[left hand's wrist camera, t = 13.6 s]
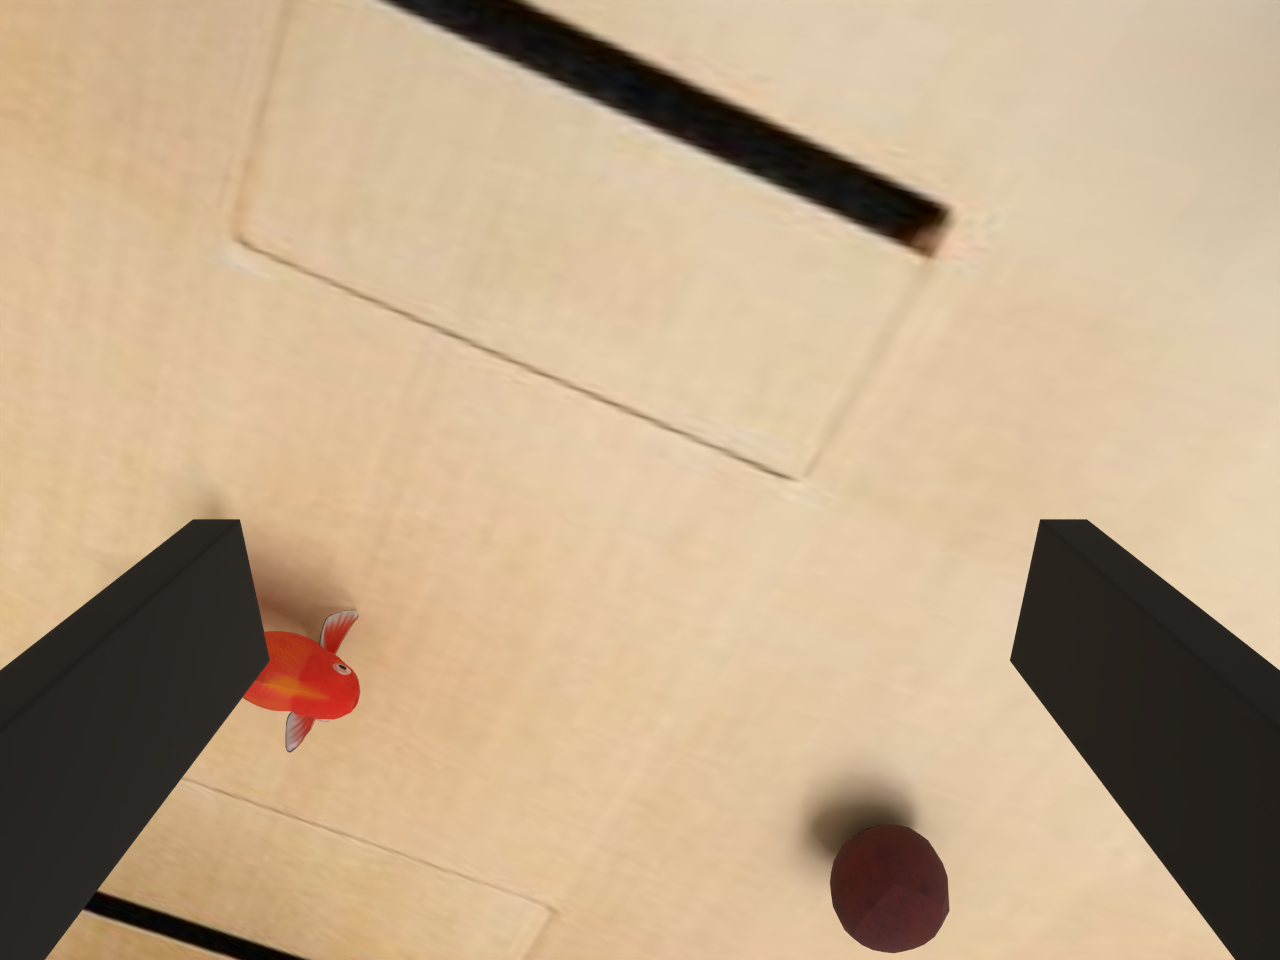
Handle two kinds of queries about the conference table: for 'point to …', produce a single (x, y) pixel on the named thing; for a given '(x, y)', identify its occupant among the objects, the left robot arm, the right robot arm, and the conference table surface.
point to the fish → (307, 678)
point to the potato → (889, 889)
